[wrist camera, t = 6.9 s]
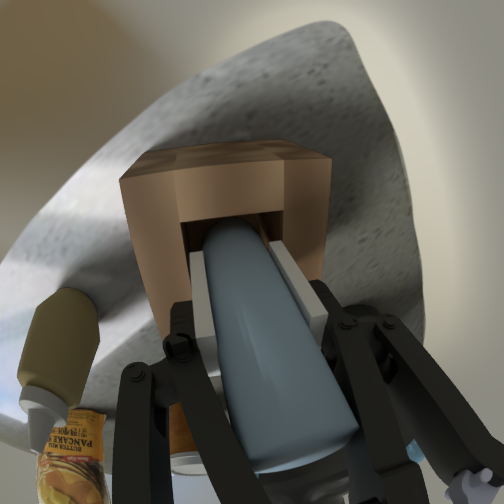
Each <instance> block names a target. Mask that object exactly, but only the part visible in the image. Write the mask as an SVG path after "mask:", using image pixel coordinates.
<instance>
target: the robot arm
mask: <svg viewBox="0 0 504 504" xmlns="http://www.w3.org/2000/svg"><path fill="white" fill-rule="evenodd" d="M269 254H270V256H271V258H272V260H273V261H274V263H275V265H276V267H277V269H278V271H279V273H280V274H281V276H282V278H283V280H284V282H285V284H286V286H287V287H288V289H289V291H290V293H291V295H292V297H293V299H294V301H295V303H296V304H297V306H298V308H299V310H300V312H301V314H302V316H303V318H304V320H305V321H306V323H307V325H308V327H309V329H310V331H311V333H312V335H313V337H314V339H315V340H316V342H317V344H318V346H319V348H320V350H321V352H322V354H323V356H324V358H325V360H326V362H327V363H328V365H329V367H330V369H331V371H332V373H333V375H334V377H335V379H336V381H337V383H338V385H339V387H340V389H341V391H342V393H343V395H344V397H345V399H346V401H347V402H348V404H349V406H350V408H351V410H352V412H353V414H354V416H355V418H356V420H357V422H358V425H359V429H358V430H357V431H356V433H355V434H354V435H353V436H352V438H351V439H350V440H349V442H348V443H347V444H346V445H345V446H344V447H342V448H341V449H339V450H337V451H335V452H334V453H332V454H330V455H328V456H325V457H323V458H321V459H319V460H316V461H314V462H311V463H308V464H305V465H302V466H299V467H295V468H292V469H287V470H283V471H277V472H270V473H254V471H253V469H252V467H251V465H250V463H249V461H248V460H247V458H246V456H245V454H244V452H243V450H242V448H241V446H240V444H239V442H238V440H237V438H236V436H235V434H234V432H233V430H232V428H231V425H230V423H229V421H228V419H227V417H226V415H225V413H224V410H223V408H222V406H221V404H220V401H219V399H218V397H217V395H216V392H215V390H214V388H213V385H212V383H211V381H210V378H209V377H211V376H218V375H221V373H220V368H219V362H218V357H217V349H218V347H217V341H216V336H215V330H214V324H213V318H212V312H211V305H210V299H209V292H208V286H207V279H206V272H205V265H204V258H203V251H199V252H191V253H190V271H191V287H192V300H189V301H181V302H174V304H173V306H172V308H171V309H170V334H169V335H167V336H166V337H165V339H164V341H163V349H164V352H165V354H166V357H165V358H164V359H163V360H162V361H160V362H158V363H155V364H153V365H150V366H148V365H147V364H145V363H143V362H134V363H131V364H129V365H127V366H126V367H125V368H124V370H123V372H122V374H121V381H120V387H119V395H118V403H117V411H116V421H115V432H114V445H113V465H112V504H174V499H173V488H172V476H171V460H170V438H169V406H171V405H174V404H176V403H179V402H180V403H181V406H182V409H183V412H184V415H185V418H186V421H187V423H188V426H189V429H190V432H191V434H192V437H193V440H194V442H195V445H196V448H197V450H198V453H199V455H200V458H201V460H202V463H203V465H204V467H205V470H206V472H207V474H208V476H209V479H210V481H211V483H212V486H213V488H214V490H215V492H216V494H217V496H218V498H219V500H220V502H221V504H345V503H344V498H343V495H345V494H348V493H349V496H348V497H349V504H430V503H429V499H428V494H427V490H426V486H425V482H424V479H423V475H422V471H421V469H420V466H419V465H418V463H419V462H420V461H422V460H423V459H424V458H425V457H426V459H427V460H428V462H429V464H430V465H431V467H432V469H433V470H434V471H435V473H436V474H437V476H438V477H439V478H440V479H441V480H442V481H443V482H444V483H445V484H446V485H448V486H449V488H448V489H447V490H446V492H445V497H446V498H447V499H451V500H452V502H453V504H491V503H492V501H493V500H494V498H495V496H496V494H497V492H498V491H499V488H500V487H501V486H502V485H504V444H502V443H501V442H499V441H498V440H496V439H495V438H494V437H492V436H491V434H490V433H489V431H488V430H487V429H486V427H485V426H484V424H483V423H482V421H481V420H480V419H479V418H478V416H477V414H476V413H475V412H474V410H473V409H472V408H471V406H470V405H469V403H468V402H467V401H466V400H465V398H464V397H463V396H462V394H461V393H460V392H459V390H458V389H457V388H456V386H455V385H454V384H453V383H452V381H451V380H450V379H449V377H448V376H447V375H446V374H445V373H444V371H443V370H442V369H441V368H440V367H439V365H438V364H437V363H436V361H435V360H434V359H433V358H432V357H431V355H430V354H429V353H428V352H427V351H426V349H425V348H424V347H423V346H422V345H421V343H420V342H419V341H418V340H417V339H416V338H415V336H414V335H413V334H412V333H411V332H410V331H409V330H408V328H407V327H406V326H405V325H404V324H403V323H402V322H401V320H400V319H398V318H397V317H396V316H394V315H392V314H380V313H379V312H378V311H377V310H376V309H375V308H373V307H371V306H366V305H358V306H352V307H348V308H345V309H343V308H342V307H341V305H340V304H339V302H338V301H337V300H336V298H335V297H334V296H333V294H332V292H330V290H329V288H328V287H327V285H326V284H325V283H323V282H322V281H320V280H319V279H316V280H310V281H307V279H306V278H305V276H304V275H303V273H302V272H301V270H300V268H299V267H298V265H297V264H296V262H295V261H294V259H293V258H292V256H291V255H290V253H289V252H288V250H287V249H286V247H285V246H284V244H283V243H282V241H273V242H269Z"/></svg>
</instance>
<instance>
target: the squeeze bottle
mask: <svg viewBox="0 0 504 504" xmlns="http://www.w3.org/2000/svg"><path fill="white" fill-rule="evenodd" d="M99 343H100V333H99V326H98V318H97V310H96V308H95V306H94V304H93V302H92V301H91V300H90V299H89V298H88V297H87V296H86V295H85V294H84V293H82V292H80V291H78V290H76V289H72V288H63V289H59V290H58V291H57V292H55V293H54V294H53V295H51V296H50V297H49V298H47V299H46V300H45V301H43V302H42V303H41V304H40V305H38V306H37V308H36V311H35V314H34V316H33V319H32V322H31V325H30V328H29V331H28V335H27V338H26V341H25V345H24V348H23V352H22V355H21V359H20V363H19V367H18V372H17V378H18V380H19V382H20V384H21V386H22V392H21V395H20V399H19V405H20V407H21V409H22V410H23V411H24V412H25V413H26V414H27V415H28V433H29V449H30V450H32V451H33V452H35V453H38V454H43V451H44V449H45V446H46V444H47V441H48V439H49V436H50V434H51V432H52V429H53V427H59V428H60V427H64V426H66V424H67V418H68V412H69V410H70V409H73V408H77V407H78V405H79V404H80V401H81V398H82V394H83V391H84V388H85V384H86V381H87V378H88V375H89V372H90V369H91V366H92V363H93V360H94V357H95V354H96V351H97V349H98V346H99Z"/></svg>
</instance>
